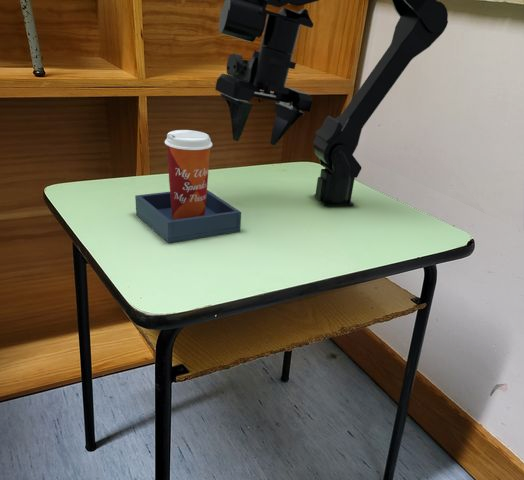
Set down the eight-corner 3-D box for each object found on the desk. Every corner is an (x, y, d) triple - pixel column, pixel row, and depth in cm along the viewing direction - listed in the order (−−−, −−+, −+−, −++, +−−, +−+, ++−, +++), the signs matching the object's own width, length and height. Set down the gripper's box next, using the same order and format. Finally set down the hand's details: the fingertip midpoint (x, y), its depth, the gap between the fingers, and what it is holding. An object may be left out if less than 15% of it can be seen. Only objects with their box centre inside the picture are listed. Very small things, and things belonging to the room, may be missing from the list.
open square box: (203, 205, 102) (204, 187, 100) (240, 231, 93) (241, 211, 91) (136, 214, 95) (135, 195, 93) (168, 243, 86) (167, 222, 84)
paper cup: (177, 229, 89) (176, 142, 81) (159, 213, 95) (156, 130, 87) (218, 223, 93) (221, 139, 85) (198, 208, 98) (200, 127, 90)
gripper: (285, 50, 102) (264, 134, 110) (206, 28, 90) (189, 124, 98) (325, 64, 96) (300, 151, 104) (246, 42, 84) (224, 144, 92)
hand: (254, 142), depth 99 cm, fingers open, 9 cm apart
